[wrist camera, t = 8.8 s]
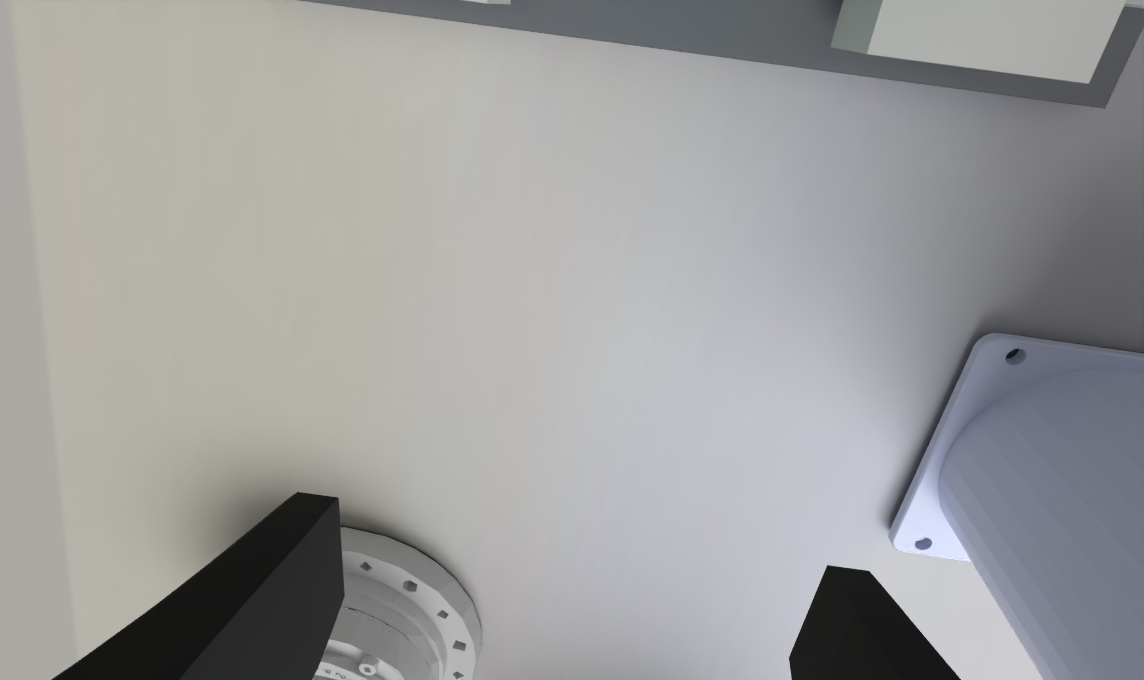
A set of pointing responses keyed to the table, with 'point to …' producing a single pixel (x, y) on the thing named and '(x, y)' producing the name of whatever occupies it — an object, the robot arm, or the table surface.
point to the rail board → (761, 38)
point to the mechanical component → (399, 617)
